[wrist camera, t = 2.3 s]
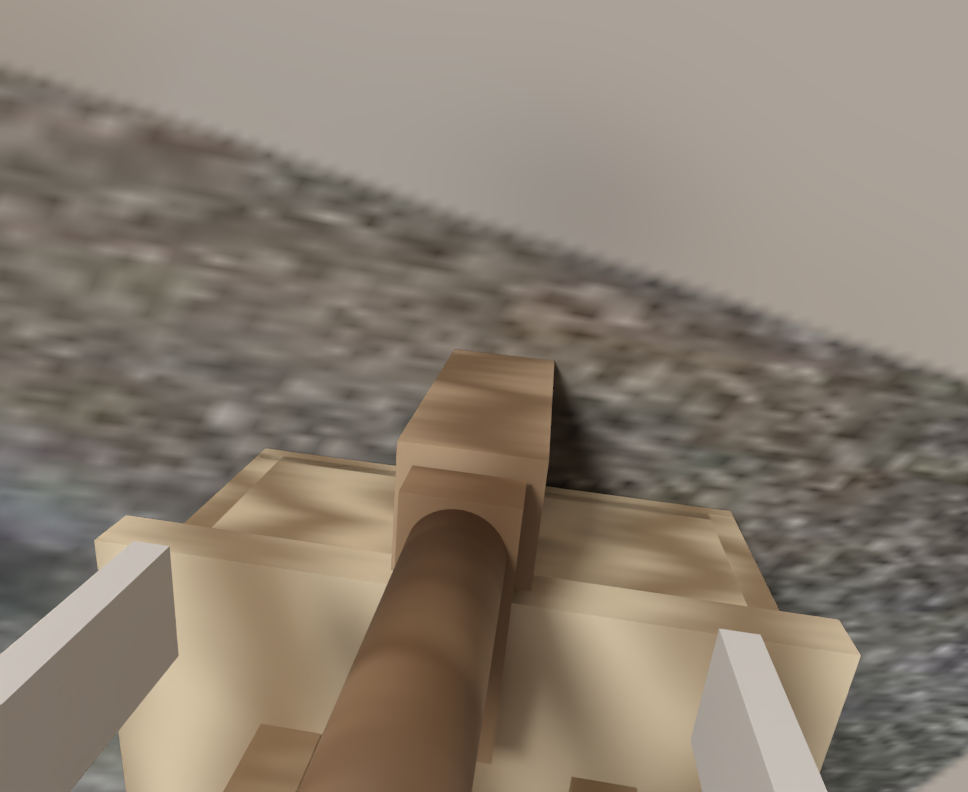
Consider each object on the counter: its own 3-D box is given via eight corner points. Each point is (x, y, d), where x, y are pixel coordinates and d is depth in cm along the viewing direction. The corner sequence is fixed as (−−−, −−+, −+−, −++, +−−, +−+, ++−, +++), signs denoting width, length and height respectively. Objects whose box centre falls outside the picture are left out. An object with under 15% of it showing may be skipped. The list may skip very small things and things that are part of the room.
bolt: (398, 704, 20) (192, 1359, 9) (412, 465, 17) (142, 981, 6) (496, 720, 19) (410, 1416, 8) (526, 480, 17) (457, 1047, 6)
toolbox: (271, 667, 32) (159, 854, 24) (262, 326, 27) (110, 402, 18) (676, 733, 31) (721, 961, 22) (761, 385, 25) (870, 503, 16)
